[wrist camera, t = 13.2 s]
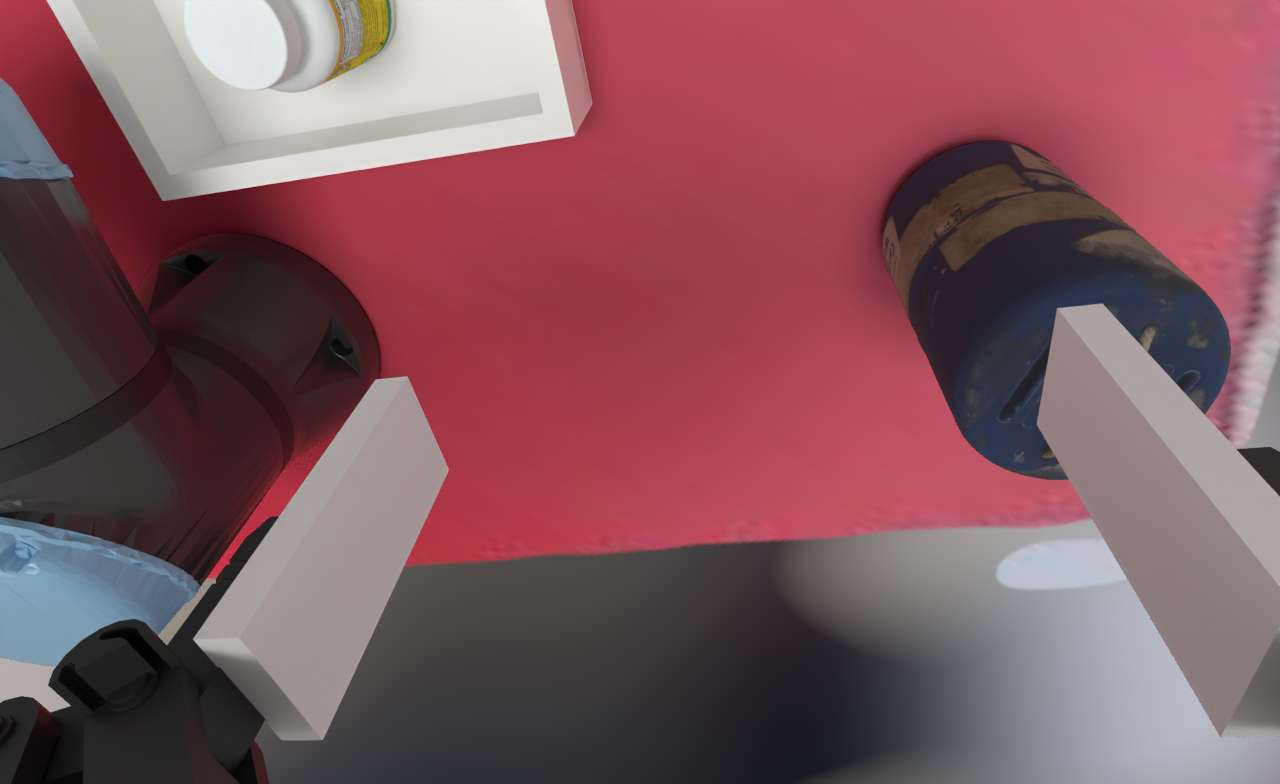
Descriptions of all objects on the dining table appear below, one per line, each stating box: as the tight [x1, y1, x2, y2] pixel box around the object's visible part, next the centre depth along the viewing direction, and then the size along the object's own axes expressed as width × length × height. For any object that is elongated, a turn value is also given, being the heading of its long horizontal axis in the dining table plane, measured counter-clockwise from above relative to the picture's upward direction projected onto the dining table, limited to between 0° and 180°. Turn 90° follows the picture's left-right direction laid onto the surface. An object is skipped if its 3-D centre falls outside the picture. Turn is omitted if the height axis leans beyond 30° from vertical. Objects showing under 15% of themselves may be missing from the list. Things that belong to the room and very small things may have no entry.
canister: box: [882, 141, 1231, 480], centre depth 32 cm, size 10×10×18 cm
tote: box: [47, 0, 593, 201], centre depth 33 cm, size 22×14×6 cm, turn 100°
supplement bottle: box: [183, 0, 395, 93], centre depth 31 cm, size 5×5×10 cm
